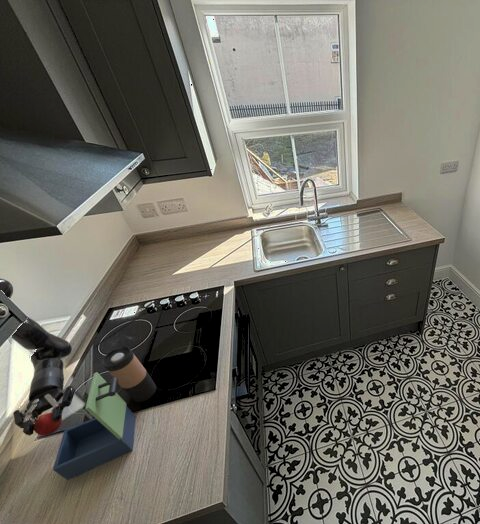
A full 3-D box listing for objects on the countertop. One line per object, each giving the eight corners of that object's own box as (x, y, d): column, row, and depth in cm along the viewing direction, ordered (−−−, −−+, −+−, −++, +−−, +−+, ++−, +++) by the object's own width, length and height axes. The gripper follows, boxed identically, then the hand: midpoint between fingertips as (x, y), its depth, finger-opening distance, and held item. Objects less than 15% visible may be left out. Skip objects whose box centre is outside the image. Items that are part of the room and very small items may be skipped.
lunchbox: (68, 480, 81) (52, 470, 77) (77, 441, 89) (64, 430, 85) (132, 450, 86) (121, 439, 82) (135, 416, 95) (125, 404, 91)
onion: (57, 439, 86) (39, 426, 81) (38, 440, 86) (19, 427, 82) (72, 419, 91) (56, 406, 86) (54, 420, 91) (37, 406, 86)
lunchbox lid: (85, 409, 72) (109, 399, 74) (93, 373, 81) (115, 365, 83) (119, 439, 82) (139, 430, 84) (123, 404, 91) (142, 396, 92)
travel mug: (141, 406, 97) (111, 370, 86) (127, 398, 100) (96, 361, 89) (162, 387, 103) (135, 350, 92) (148, 379, 106) (120, 343, 94)
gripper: (9, 391, 89) (-2, 437, 78) (68, 365, 96) (66, 404, 85) (25, 404, 93) (17, 450, 82) (81, 379, 100) (81, 417, 89)
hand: (42, 426), depth 83 cm, fingers closed on onion, 5 cm apart
